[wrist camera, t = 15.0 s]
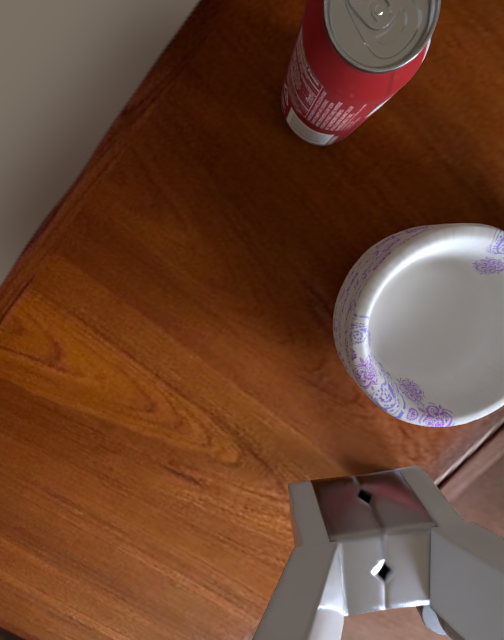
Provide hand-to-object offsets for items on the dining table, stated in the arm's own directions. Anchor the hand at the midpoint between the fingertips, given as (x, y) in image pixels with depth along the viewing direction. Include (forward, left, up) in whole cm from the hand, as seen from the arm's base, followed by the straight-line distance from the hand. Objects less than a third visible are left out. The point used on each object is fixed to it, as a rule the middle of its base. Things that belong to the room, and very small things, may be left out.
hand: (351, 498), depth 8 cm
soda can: (-13, +11, -24) cm, 30 cm away
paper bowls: (+6, +11, -24) cm, 27 cm away
